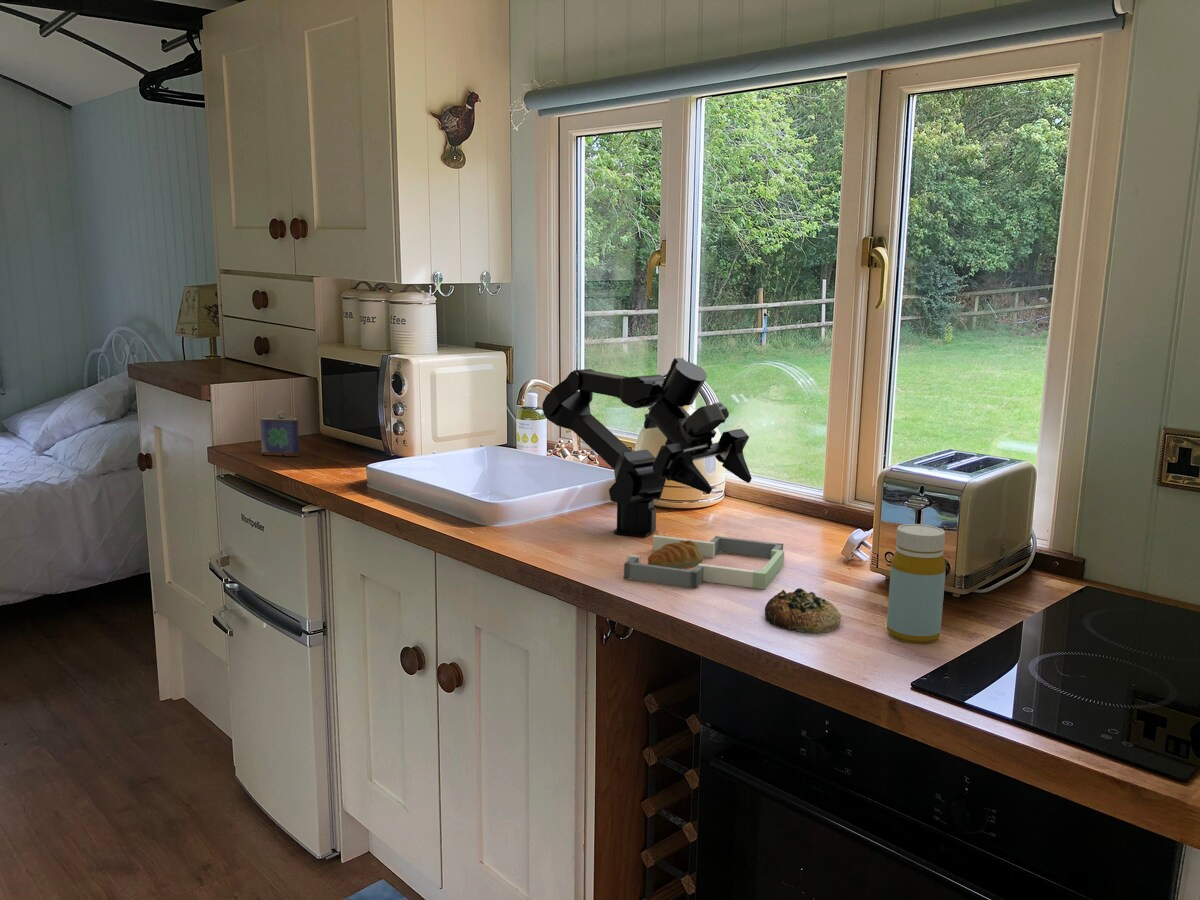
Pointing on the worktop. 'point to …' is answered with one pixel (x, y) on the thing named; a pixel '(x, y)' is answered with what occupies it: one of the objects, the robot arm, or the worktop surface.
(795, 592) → the bread roll
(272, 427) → the flask
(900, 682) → the worktop surface
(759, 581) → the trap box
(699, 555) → the pastry
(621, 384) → the robot arm
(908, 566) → the bottle
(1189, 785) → the worktop surface
